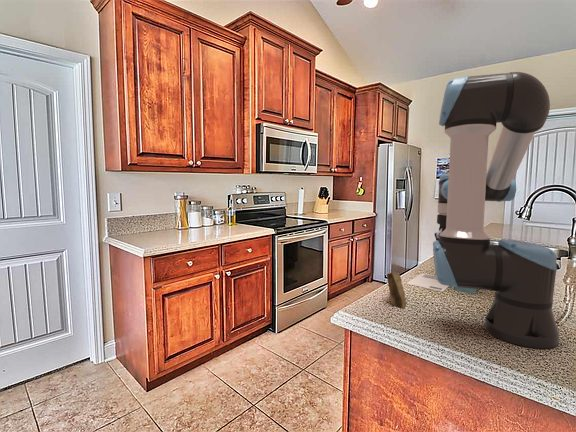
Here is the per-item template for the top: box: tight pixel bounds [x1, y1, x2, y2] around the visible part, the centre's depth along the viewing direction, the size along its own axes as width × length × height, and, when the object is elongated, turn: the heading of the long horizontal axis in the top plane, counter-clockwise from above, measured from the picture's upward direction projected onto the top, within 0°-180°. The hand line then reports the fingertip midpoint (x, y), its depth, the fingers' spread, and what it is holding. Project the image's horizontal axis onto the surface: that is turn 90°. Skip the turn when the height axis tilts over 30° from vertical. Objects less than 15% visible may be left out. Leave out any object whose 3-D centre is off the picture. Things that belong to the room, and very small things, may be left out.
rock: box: [386, 271, 407, 309], centre depth 103 cm, size 11×9×10 cm
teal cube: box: [454, 287, 478, 295], centre depth 114 cm, size 6×6×6 cm
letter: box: [405, 272, 450, 292], centre depth 123 cm, size 18×13×1 cm
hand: (444, 273), depth 127 cm, fingers closed
